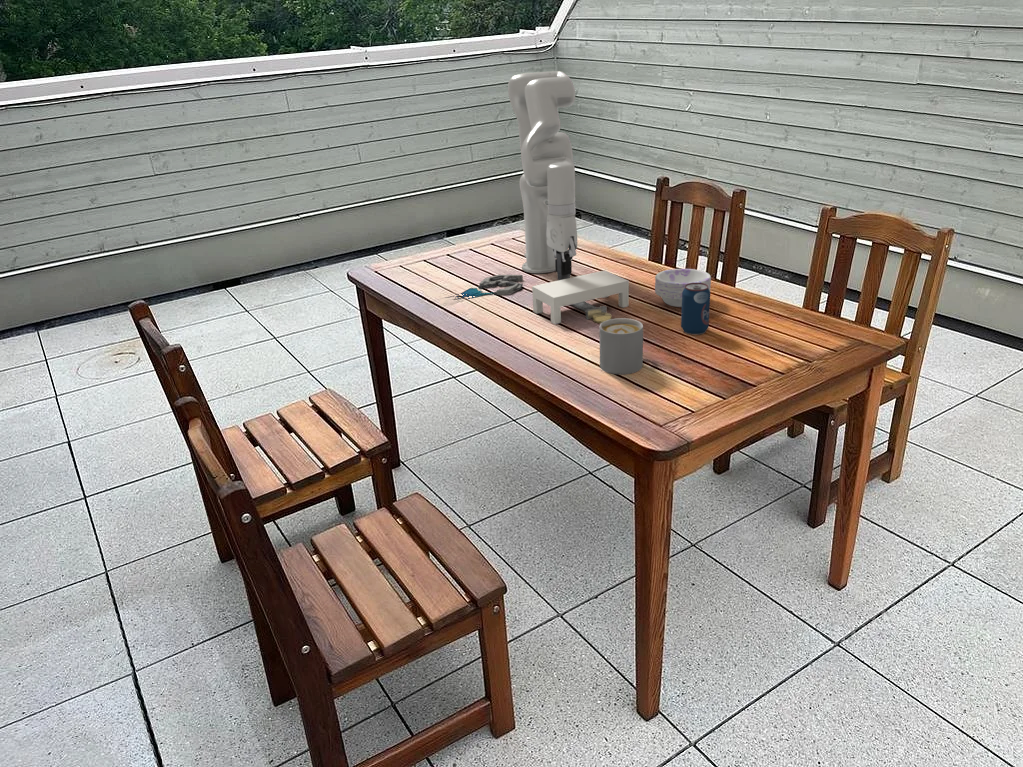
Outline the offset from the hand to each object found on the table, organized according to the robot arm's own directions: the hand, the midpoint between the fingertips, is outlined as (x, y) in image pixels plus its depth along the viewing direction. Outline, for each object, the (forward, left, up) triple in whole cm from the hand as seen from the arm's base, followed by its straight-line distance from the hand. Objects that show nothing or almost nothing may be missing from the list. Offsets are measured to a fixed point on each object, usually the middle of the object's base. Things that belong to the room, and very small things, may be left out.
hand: (563, 272), depth 221 cm
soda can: (+40, +15, -9) cm, 44 cm away
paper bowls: (+21, +26, -9) cm, 35 cm away
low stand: (+9, 0, -8) cm, 12 cm away
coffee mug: (+47, -11, -9) cm, 49 cm away
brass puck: (+20, 0, -9) cm, 22 cm away
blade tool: (+8, 0, -8) cm, 12 cm away
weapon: (-22, -18, -9) cm, 30 cm away
